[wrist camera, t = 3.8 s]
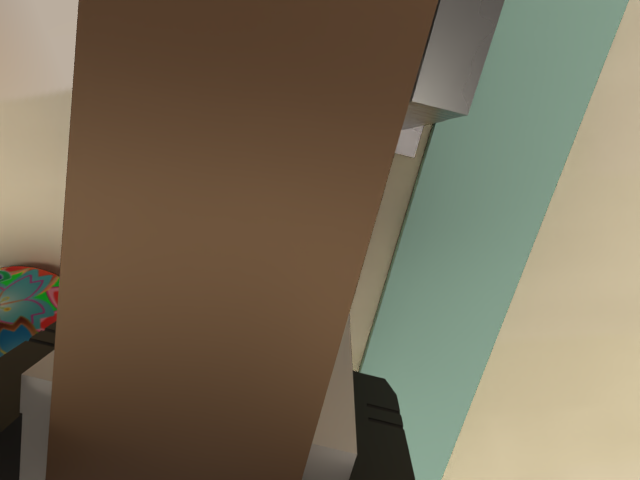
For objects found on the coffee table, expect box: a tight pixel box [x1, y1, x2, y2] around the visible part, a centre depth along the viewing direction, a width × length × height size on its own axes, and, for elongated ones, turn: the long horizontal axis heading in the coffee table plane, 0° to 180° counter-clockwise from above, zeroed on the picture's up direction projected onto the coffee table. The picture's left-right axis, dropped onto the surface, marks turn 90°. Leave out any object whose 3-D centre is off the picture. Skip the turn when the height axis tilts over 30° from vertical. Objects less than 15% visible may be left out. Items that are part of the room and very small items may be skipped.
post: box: [395, 0, 505, 158], centre depth 12 cm, size 6×9×10 cm, turn 76°
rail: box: [45, 0, 438, 480], centre depth 8 cm, size 26×4×4 cm, turn 166°
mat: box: [359, 0, 629, 480], centre depth 19 cm, size 30×6×1 cm, turn 166°
